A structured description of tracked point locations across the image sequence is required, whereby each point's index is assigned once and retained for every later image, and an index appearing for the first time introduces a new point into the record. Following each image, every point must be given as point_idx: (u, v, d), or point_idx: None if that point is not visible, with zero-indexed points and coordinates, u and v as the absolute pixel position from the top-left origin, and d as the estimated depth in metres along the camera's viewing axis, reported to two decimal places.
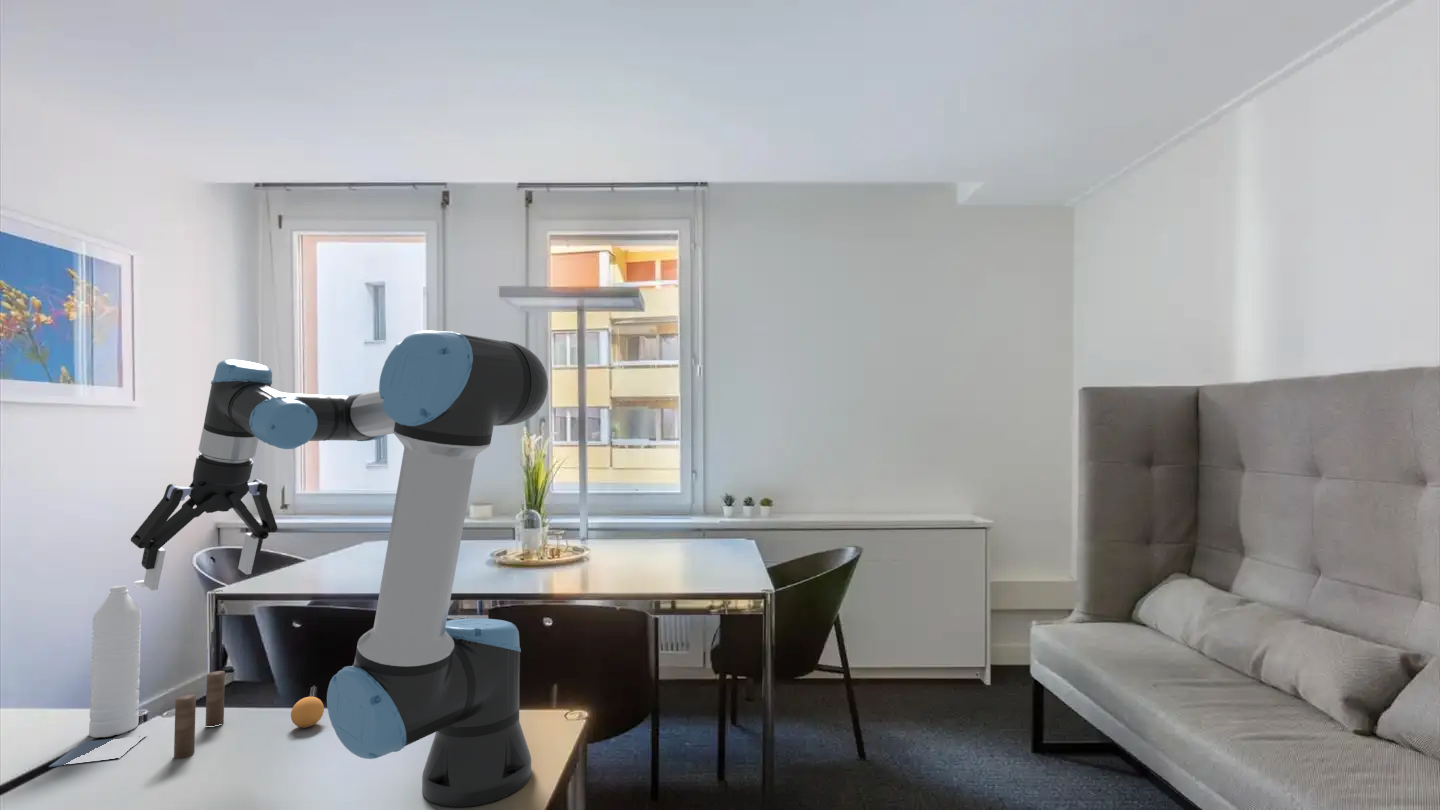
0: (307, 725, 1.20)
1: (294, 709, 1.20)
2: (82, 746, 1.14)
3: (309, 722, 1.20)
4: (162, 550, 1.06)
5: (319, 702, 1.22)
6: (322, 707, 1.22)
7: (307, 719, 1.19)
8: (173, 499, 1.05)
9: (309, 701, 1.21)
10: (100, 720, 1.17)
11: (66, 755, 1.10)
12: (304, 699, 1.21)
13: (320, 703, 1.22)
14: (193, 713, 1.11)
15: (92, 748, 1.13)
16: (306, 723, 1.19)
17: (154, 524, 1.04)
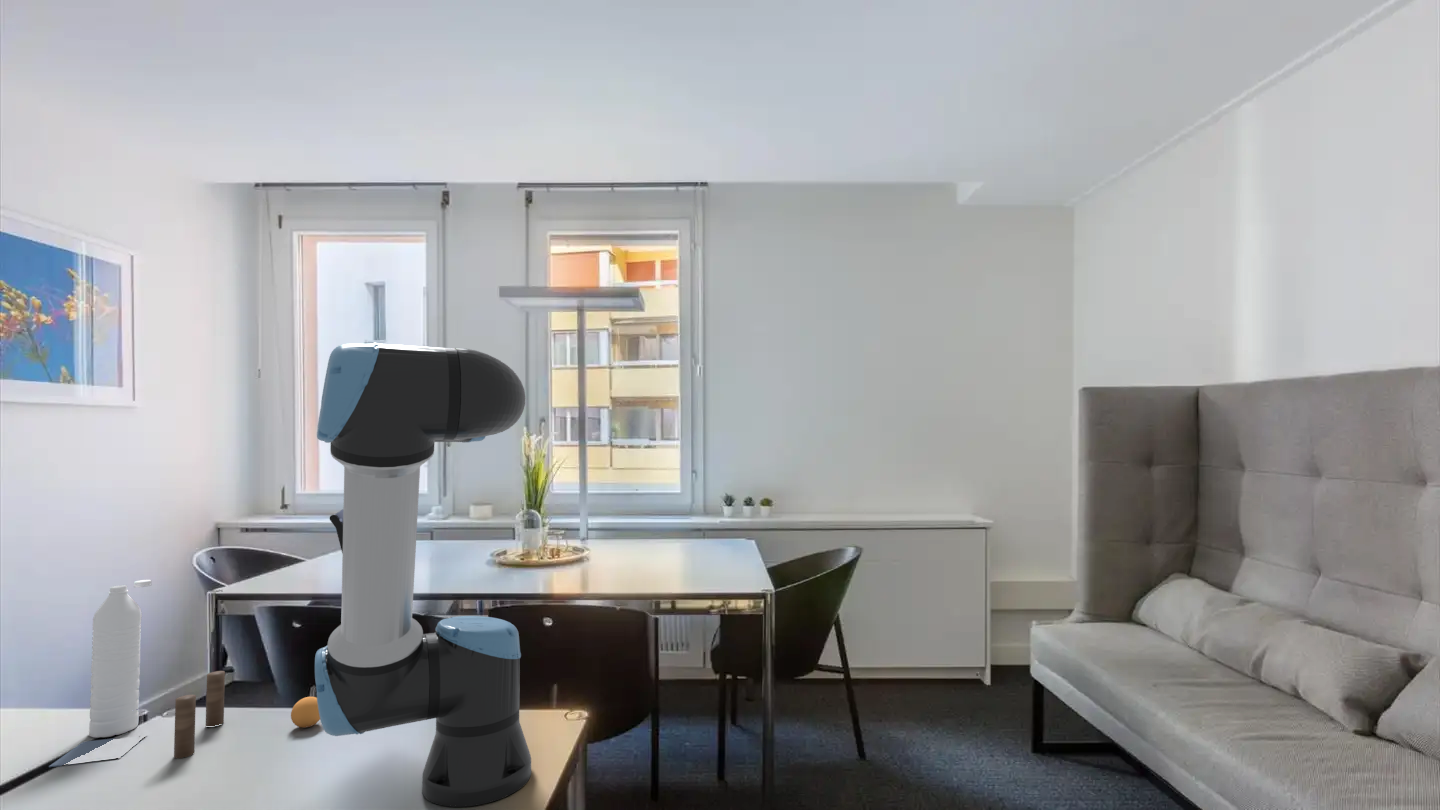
0: (307, 725, 1.20)
1: (294, 709, 1.20)
2: (82, 746, 1.14)
3: (309, 722, 1.20)
4: None
5: None
6: None
7: (307, 719, 1.19)
8: (334, 524, 1.23)
9: (309, 701, 1.21)
10: (100, 720, 1.17)
11: (66, 755, 1.10)
12: (304, 699, 1.21)
13: None
14: (193, 713, 1.11)
15: (92, 748, 1.13)
16: (306, 723, 1.19)
17: (341, 547, 1.23)
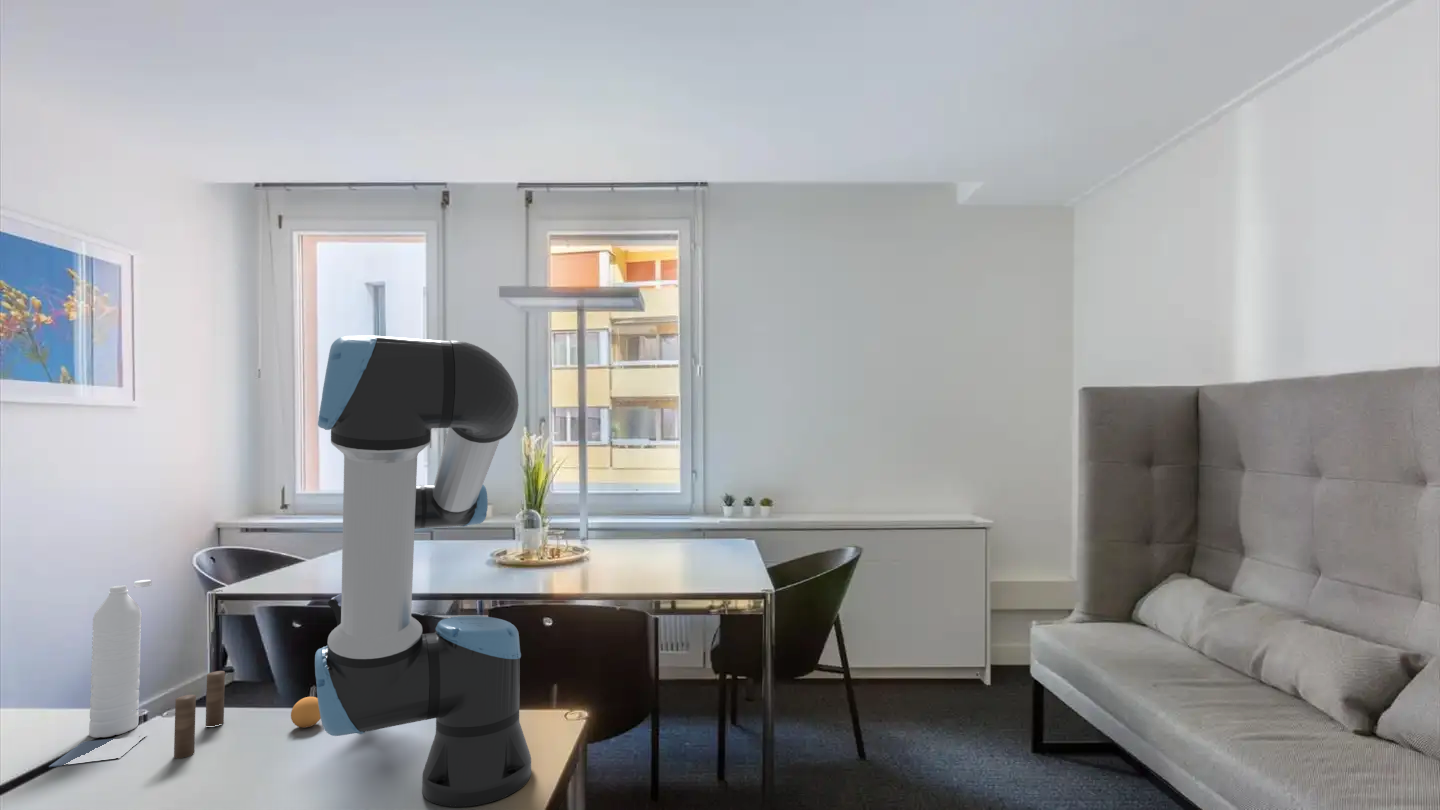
0: (307, 725, 1.20)
1: (294, 709, 1.20)
2: (82, 746, 1.14)
3: (309, 722, 1.20)
4: None
5: None
6: None
7: (307, 719, 1.19)
8: (333, 609, 1.22)
9: (309, 701, 1.21)
10: (100, 720, 1.17)
11: (66, 755, 1.10)
12: (304, 699, 1.21)
13: None
14: (193, 713, 1.11)
15: (92, 748, 1.13)
16: (306, 723, 1.19)
17: None
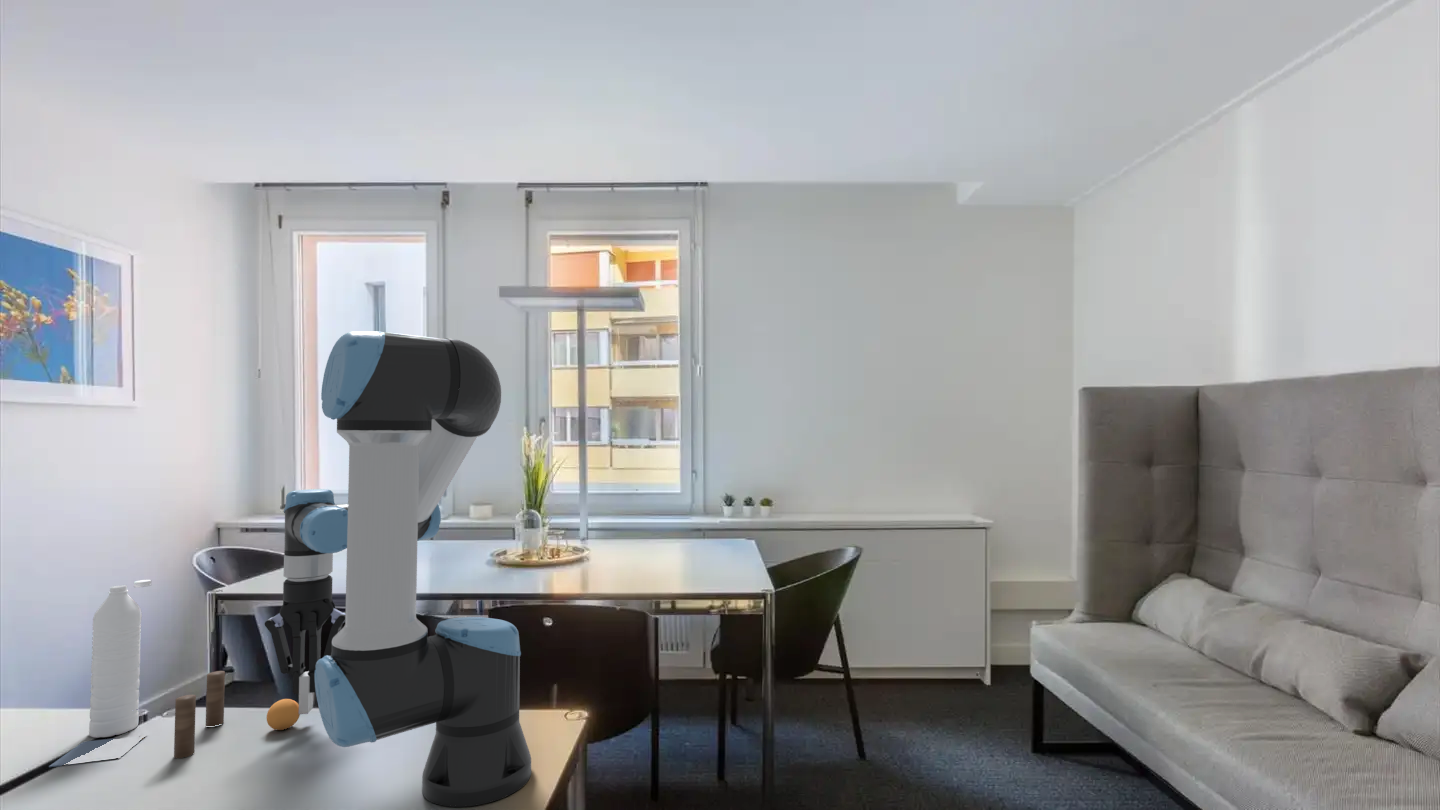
0: (291, 717, 1.19)
1: (269, 725, 1.19)
2: (82, 746, 1.14)
3: (289, 715, 1.19)
4: (301, 676, 1.21)
5: (278, 701, 1.20)
6: (285, 700, 1.20)
7: (283, 716, 1.18)
8: (270, 630, 1.20)
9: (269, 710, 1.19)
10: (100, 720, 1.17)
11: (66, 755, 1.10)
12: (267, 714, 1.19)
13: (279, 701, 1.20)
14: (193, 713, 1.11)
15: (92, 748, 1.13)
16: (288, 718, 1.19)
17: (276, 653, 1.20)
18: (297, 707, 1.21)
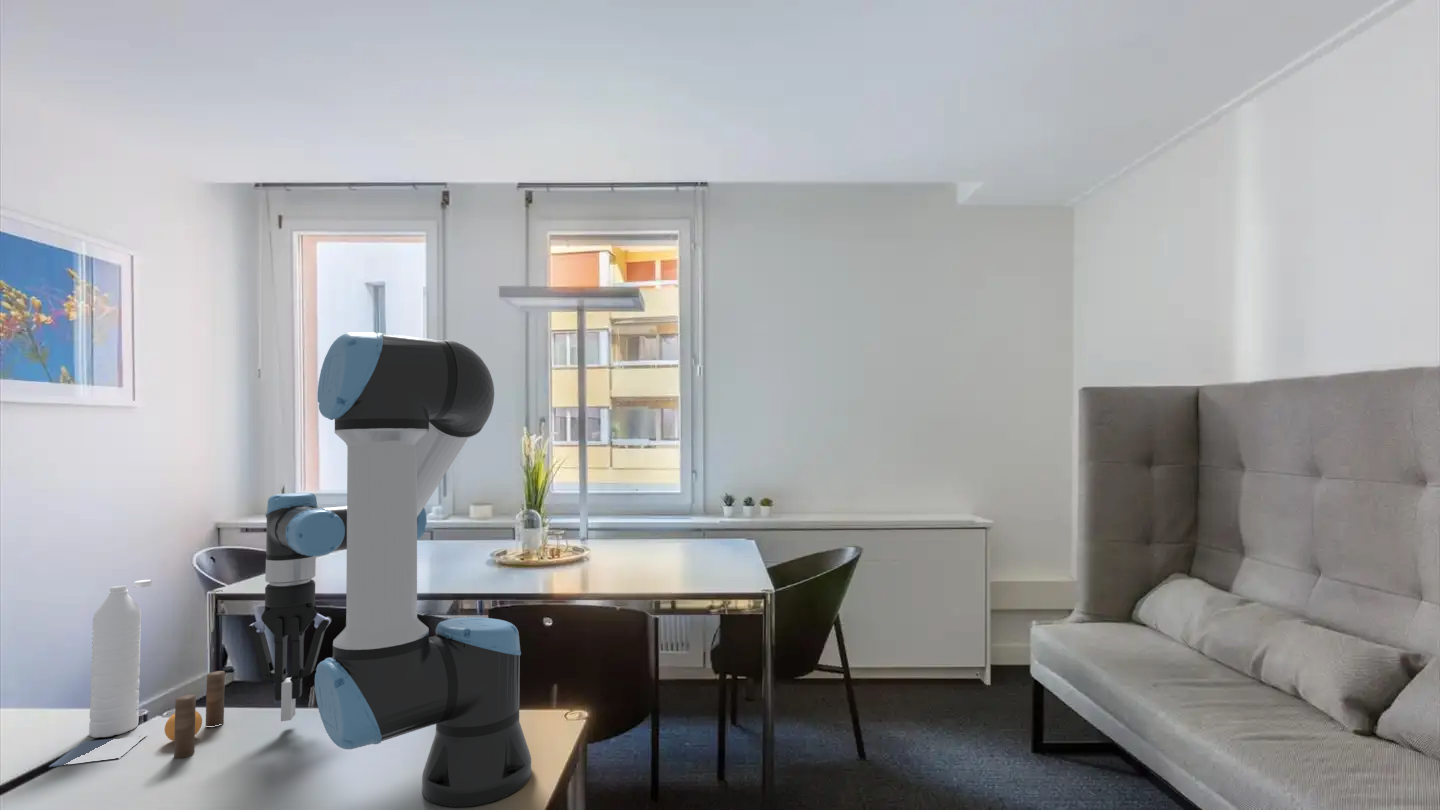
0: None
1: (165, 733, 1.14)
2: (82, 746, 1.14)
3: None
4: (283, 682, 1.19)
5: None
6: None
7: None
8: (251, 635, 1.18)
9: (171, 717, 1.15)
10: (100, 720, 1.17)
11: (66, 755, 1.10)
12: None
13: None
14: (193, 713, 1.11)
15: (92, 748, 1.13)
16: None
17: (258, 659, 1.19)
18: (199, 722, 1.17)
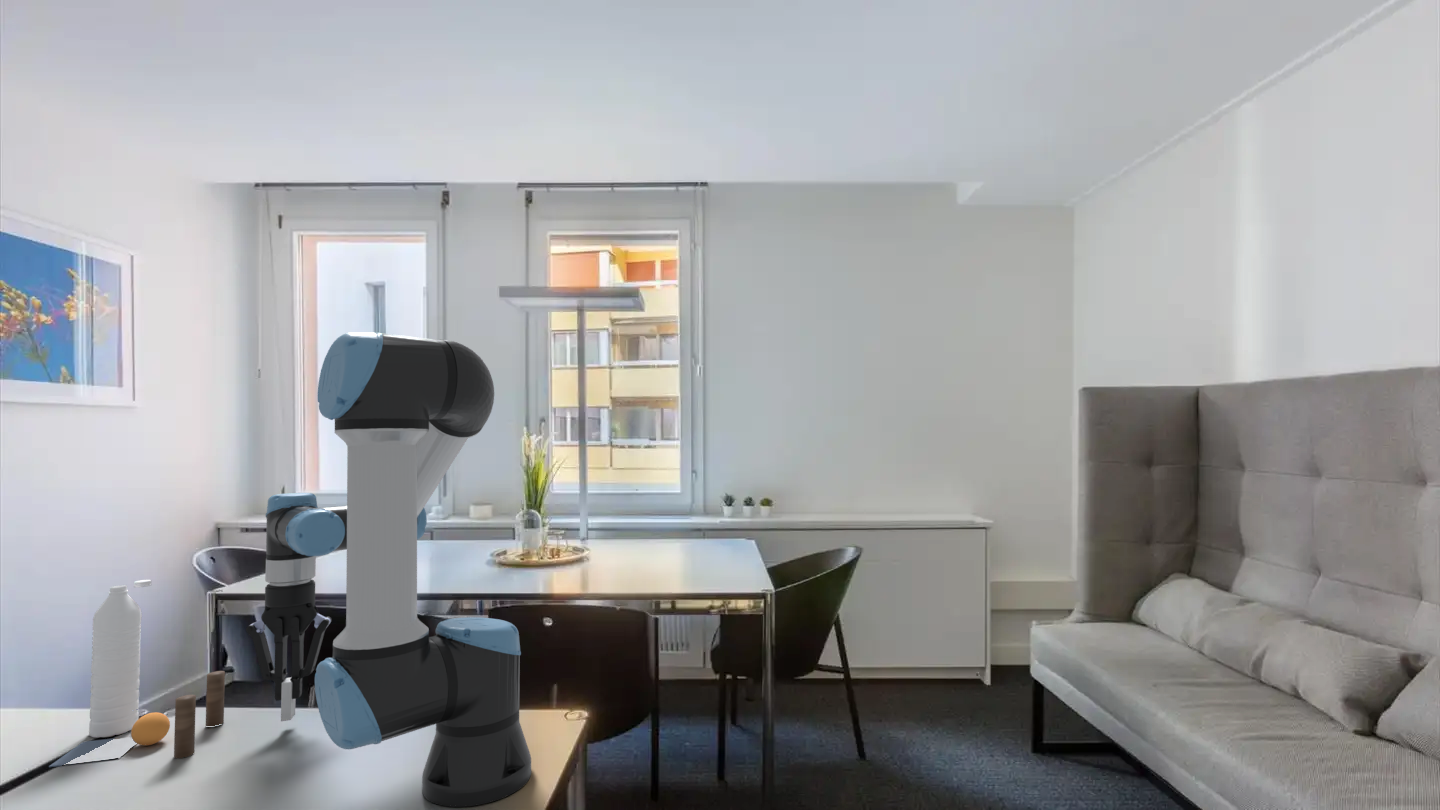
0: (147, 722, 1.13)
1: (153, 742, 1.14)
2: (82, 746, 1.14)
3: (141, 725, 1.13)
4: (283, 682, 1.19)
5: None
6: None
7: (140, 730, 1.13)
8: (251, 635, 1.18)
9: None
10: (100, 720, 1.17)
11: (66, 755, 1.10)
12: (144, 744, 1.14)
13: None
14: (193, 713, 1.11)
15: (92, 748, 1.13)
16: (145, 725, 1.13)
17: (258, 659, 1.19)
18: (143, 716, 1.14)
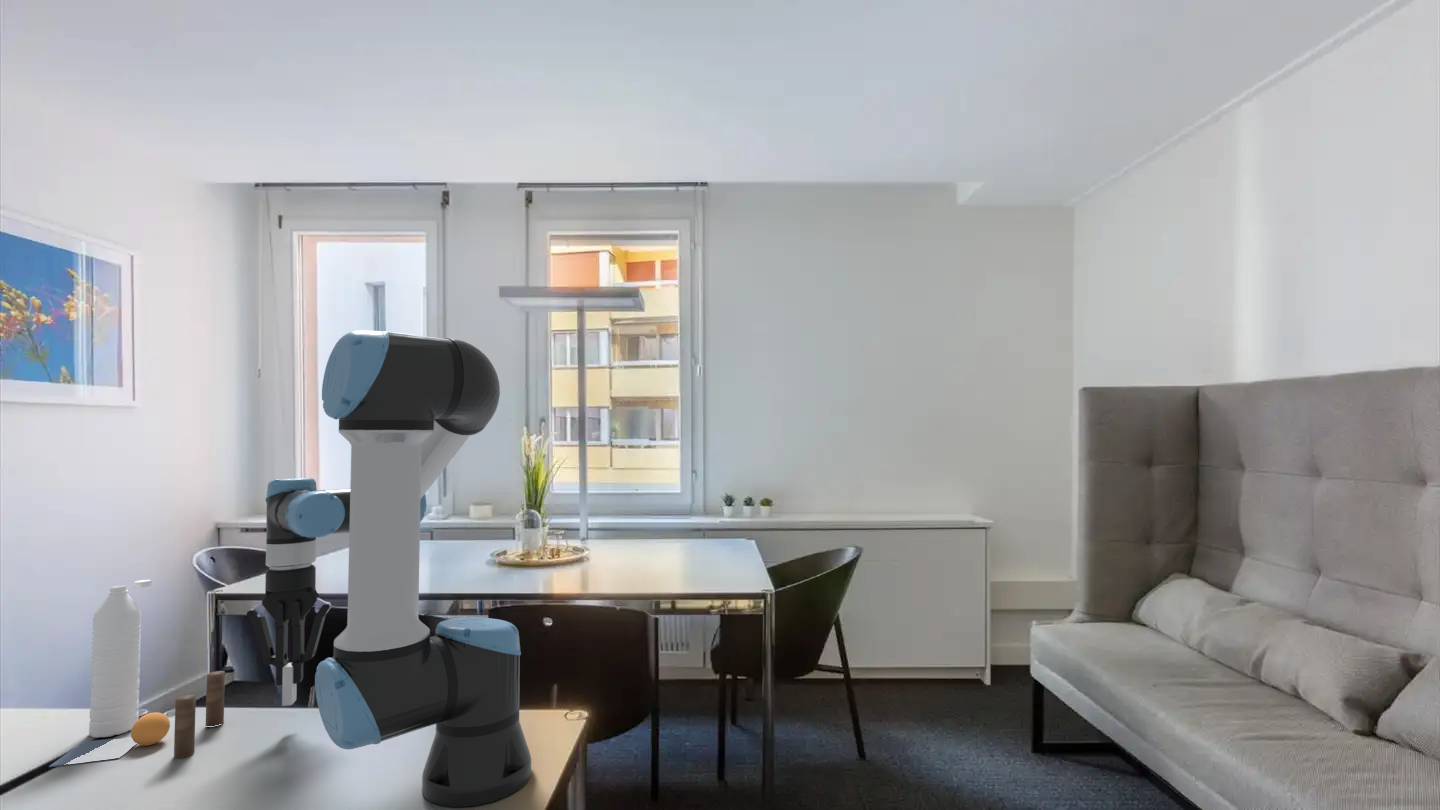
0: (147, 722, 1.13)
1: (153, 742, 1.14)
2: (82, 746, 1.14)
3: (141, 725, 1.13)
4: (284, 667, 1.19)
5: None
6: None
7: (140, 730, 1.13)
8: (252, 620, 1.18)
9: None
10: (100, 720, 1.17)
11: (66, 755, 1.10)
12: (144, 744, 1.14)
13: None
14: (193, 713, 1.11)
15: (92, 748, 1.13)
16: (145, 725, 1.13)
17: (259, 644, 1.18)
18: (143, 716, 1.14)
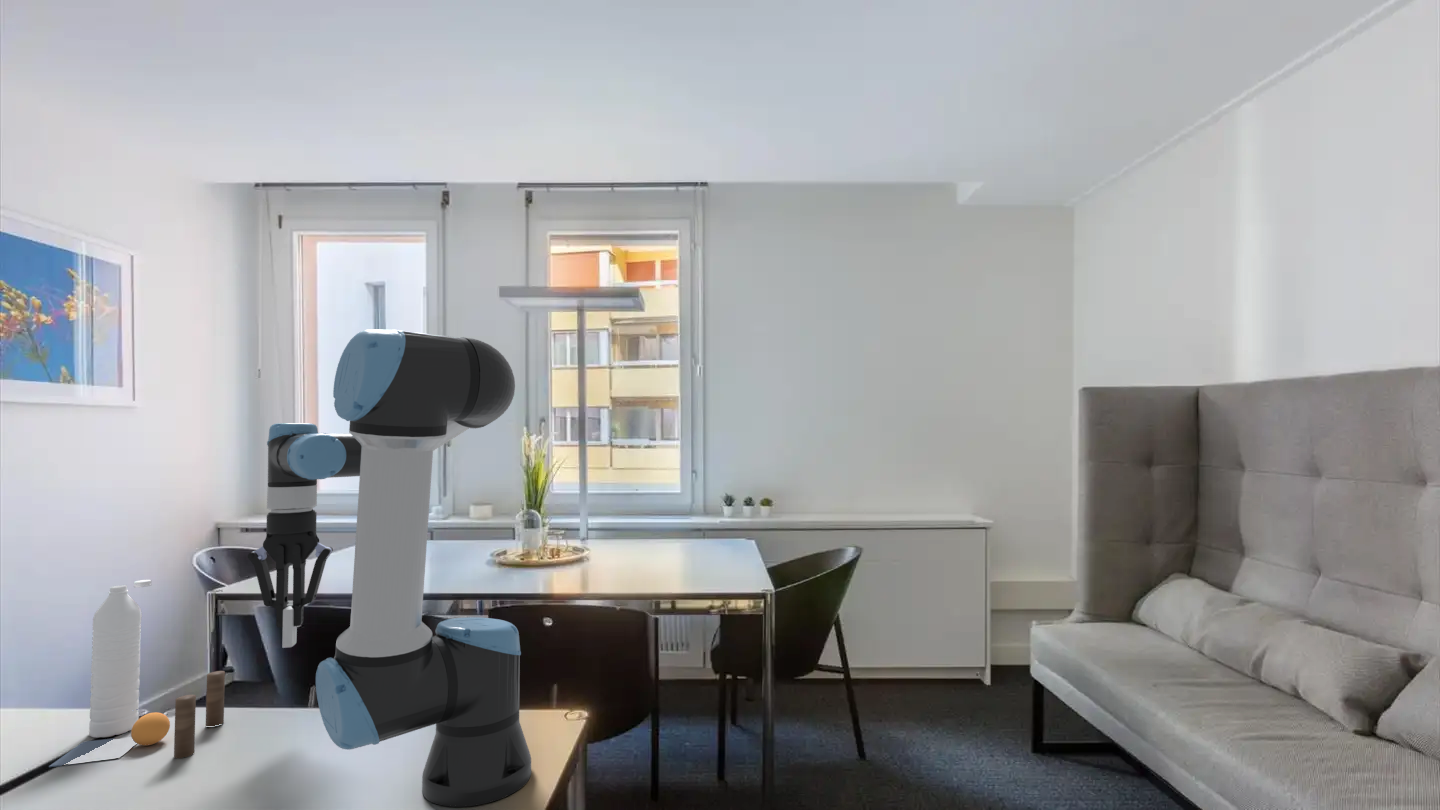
0: (147, 722, 1.13)
1: (153, 742, 1.14)
2: (82, 746, 1.14)
3: (141, 725, 1.13)
4: (285, 609, 1.20)
5: None
6: None
7: (140, 730, 1.13)
8: (253, 562, 1.19)
9: None
10: (100, 720, 1.17)
11: (66, 755, 1.10)
12: (144, 744, 1.14)
13: None
14: (193, 713, 1.11)
15: (92, 748, 1.13)
16: (145, 725, 1.13)
17: (260, 586, 1.19)
18: (143, 716, 1.14)
